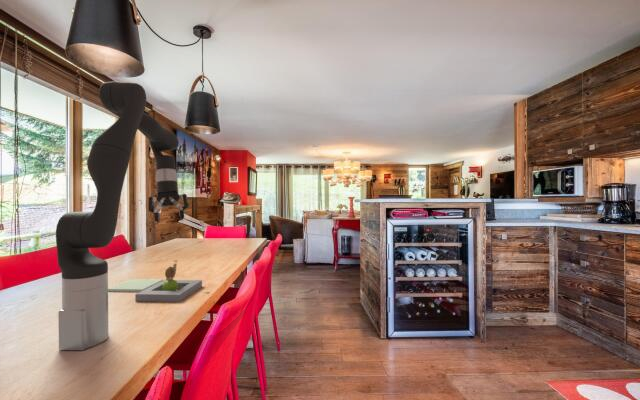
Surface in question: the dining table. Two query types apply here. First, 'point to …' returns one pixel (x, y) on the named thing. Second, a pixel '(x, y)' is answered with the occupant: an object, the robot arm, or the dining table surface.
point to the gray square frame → (169, 296)
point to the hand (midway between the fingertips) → (170, 221)
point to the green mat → (134, 285)
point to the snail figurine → (170, 279)
